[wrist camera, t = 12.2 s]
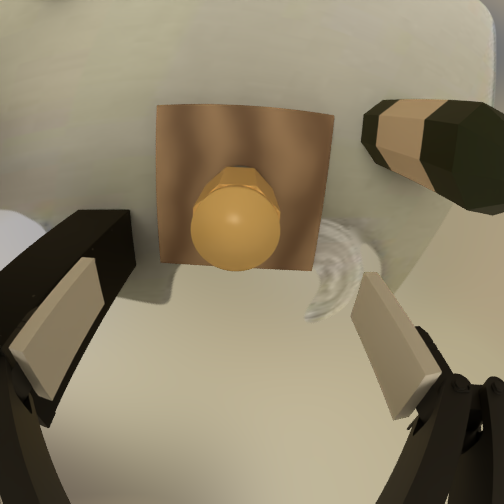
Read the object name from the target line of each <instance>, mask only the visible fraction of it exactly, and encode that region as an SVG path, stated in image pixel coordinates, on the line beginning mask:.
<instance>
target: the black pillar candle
mask: <svg viewBox="0 0 504 504" xmlns="http://www.w3.org/2000/svg"><path fill="white" fill-rule="evenodd" d="M82 257H86V258H95V264H96V269H97V273H98V278H99V283H100V287H101V291H102V295H103V299H104V303H105V304H104V305H103V307H102V309H101V310H100V312H99V314H98V315H97V317H96V319H95V321H94V322H93V324H92V326H91V327H90V329H89V331H88V333H87V334H86V336H85V338H84V340H83V342H82V343H81V345H80V347H79V349H78V351H77V353H76V355H75V356H74V358H73V360H72V362H71V364H70V366H69V368H68V370H67V372H66V374H65V376H64V378H63V380H62V382H61V384H60V386H59V388H58V390H57V392H56V394H55V396H54V398H53V401H51V400H48V399H46V398H43V397H40V396H38V394H37V393H36V392H35V390H34V389H33V387H32V389H31V390H30V392H29V393H30V394H31V396H32V398H33V402H34V406H35V410H36V414H37V417H38V421H39V424H40V425H42V426H44V427H47V428H49V427H50V424H51V423H52V420H53V418H54V416H55V411H56V409H57V406H58V404H59V402H60V400H61V398H62V396H63V393H64V391H65V389H66V387H67V385H68V383H69V381H70V379H71V377H72V375H73V373H74V371H75V369H76V367H77V365H78V363H79V362H80V360H81V358H82V356H83V354H84V352H85V350H86V348H87V347H88V345H89V343H90V341H91V339H92V338H93V336H94V334H95V332H96V330H97V329H98V327H99V325H100V323H101V322H102V320H103V318H104V316H105V315H106V313H107V311H108V310H109V308H110V306H111V304H112V303H113V301H114V300H115V298H116V296H117V295H118V293H119V292H120V290H121V288H122V287H123V285H124V283H125V282H126V280H127V279H128V277H129V276H130V274H131V272H132V271H133V269H134V268H135V266H136V262H135V254H134V247H133V239H132V230H131V220H130V211H129V210H78V211H76V212H75V213H73V214H72V215H70V216H69V217H68V218H66V219H65V220H63V221H62V222H61V223H59V224H58V225H57V226H55V227H54V228H53V229H51V230H50V231H49V232H47V233H46V234H45V235H43V236H42V237H41V238H39V239H38V240H37V241H36V242H34V243H33V244H32V245H31V246H29V247H28V248H27V249H26V250H25V251H23V252H22V253H21V254H20V255H18V256H17V257H16V258H15V259H14V260H13V261H12V262H10V263H9V264H8V265H7V266H6V267H5V268H3V270H1V271H0V346H1V348H2V346H3V345H4V344H5V342H6V341H7V339H8V338H9V337H10V335H11V334H12V333H13V331H14V330H15V329H16V328H17V326H18V325H19V323H20V322H22V319H23V318H24V317H25V316H26V314H27V313H28V312H30V311H31V310H32V309H34V308H35V307H39V306H40V305H41V304H42V303H43V301H44V300H45V299H46V298H47V296H48V295H49V294H50V293H51V292H52V290H53V289H54V288H55V287H56V286H57V285H58V283H59V282H60V281H61V280H62V279H63V278H64V277H65V275H66V274H67V273H68V272H69V271H70V270H71V269H72V268H73V266H74V265H75V264H76V263H77V262H78V261H79V260H80V259H81V258H82Z"/></svg>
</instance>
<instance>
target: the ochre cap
mask: <svg viewBox="0 0 504 504" xmlns="http://www.w3.org/2000/svg"><path fill="white" fill-rule="evenodd" d="M280 213H281V212H280V209H279V206H278V203H277V200H276V197H275V194H274V191H273V188H272V187H271V186H270V185H269V184H268V183H267V182H266V181H265V179H264V178H263V177H262V176H261V175H260V174H259V173H258V172H257V170H256V169H255V168H244V167H225V168H224V169H223V170H222V171H221V172H220V173H219V174H217V175H216V176H215V177H214V178H213V179H212V180H211V181H210V182H209V183H207V184H206V186H205V187H204V189H203V191H202V193H201V194H200V196H199V198H198V200H197V201H196V203H195V205H194V207H193V218H192V222H191V237H192V241H193V244H194V246H195V248H196V250H197V251H198V253H199V254H200V255H201V256H202V257H203V259H205V260H206V261H207V262H208V263H210V264H211V265H213V266H215V267H217V268H220V269H223V270H228V271H244V270H249V269H252V268H255V267H257V266H259V265H260V264H262V263H263V262H265V261H266V260H267V259H268V258H269V257H270V256H271V255H272V254H273V252H274V251H275V249H276V247H277V245H278V242H279V238H280V223H279V221H280Z"/></svg>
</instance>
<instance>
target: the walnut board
mask: <svg viewBox="0 0 504 504" xmlns="http://www.w3.org/2000/svg"><path fill="white" fill-rule="evenodd" d="M333 124H334V115H328V114H321V113H315V112H307V111H300V110H291V109H282V108H272V107H259V106H244V105H219V104H180V105H157V117H156V193H157V217H158V234H159V248H160V260H161V263H174V264H190V265H206V266H213V265H211V264H210V263H208V262H207V261H206V260H205V259H203V257H202V256H201V255H200V254H199V253H198V251H197V250H196V248H195V246H194V244H193V241H192V237H191V222H192V218H193V207H194V205H195V203H196V201H197V200H198V198H199V196H200V194H201V193H202V191H203V189H204V187H205V186H206V184H207V183H209V182H210V181H211V180H212V179H213V178H214V177H215V176H216V175H217V174H219V173H220V172H221V171H222V170H223V169H224V168H225V167H232V166H236V165H244V166H248V167H251V168H255V169H256V170H257V171H258V172H259V173H260V174H261V176H262V177H263V178H264V179H265V181H266V182H267V183H268V184H269V185H270V186H271V187H272V188H273V191H274V194H275V197H276V200H277V203H278V206H279V209H280V212H281V213H280V221H279V223H280V238H279V242H278V245H277V247H276V249H275V251H274V252H273V254H272V255H271V256H270V257H269V258H268V259H267V260H266V261H265V262H263V263H262V264H260V265H259V266H257V267H255V268H260V269H261V268H262V269H280V270H301V271H312V267H313V261H314V256H315V251H316V245H317V239H318V233H319V227H320V221H321V215H322V209H323V202H324V195H325V189H326V182H327V174H328V167H329V159H330V151H331V142H332V134H333Z"/></svg>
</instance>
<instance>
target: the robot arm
mask: <svg viewBox="0 0 504 504" xmlns="http://www.w3.org/2000/svg"><path fill="white" fill-rule="evenodd" d="M104 304H105V303H104V299H103V295H102V291H101V287H100V283H99V278H98V273H97V269H96V264H95V258H86V257H82V258H81V259H80V260H79V261H78V262H77V263H76V264H75V265H74V266H73V268H72V269H71V270H70V271H69V272H68V273H67V274H66V275H65V277H64V278H63V279H62V280H61V281H60V282H59V283H58V285H57V286H56V287H55V288H54V289H53V290H52V292H51V293H50V294H49V295H48V296H47V298H46V299H45V300H44V301H43V303H42V304H41V305H40V306H39V307H35V308H34V309H32V310H31V311H30V312H28V313H27V314H26V316H25V317H24V318H23V319H22V322H20V323H19V325H18V326H17V328H16V329H15V330H14V331H13V333H12V334H11V335H10V337H9V338H8V339H7V341H6V342H5V344H4V345H3V346H2V348H1V346H0V496H1V499H2V502H3V504H71V503H70V501H69V499H68V497H67V495H66V493H65V491H64V489H63V487H62V484H61V482H60V480H59V478H58V475H57V473H56V470H55V468H54V465H53V463H52V460H51V457H50V455H49V452H48V449H47V446H46V443H45V441H44V438H43V434H42V431H41V428H40V424H39V421H38V417H37V414H36V410H35V406H34V402H33V398H32V396H31V394H30V393H29V392H30V390H31V389H32V387H33V389H34V390H35V392H36V393H37V394H38V396H40V397H43V398H46V399H48V400H51V401H53V398H54V396H55V394H56V392H57V390H58V388H59V386H60V384H61V382H62V380H63V378H64V376H65V374H66V372H67V370H68V368H69V366H70V364H71V362H72V360H73V358H74V356H75V355H76V353H77V351H78V349H79V347H80V345H81V343H82V342H83V340H84V338H85V336H86V334H87V333H88V331H89V329H90V327H91V326H92V324H93V322H94V321H95V319H96V317H97V315H98V314H99V312H100V310H101V309H102V307H103V305H104ZM351 318H352V321H353V323H354V325H355V328H356V330H357V332H358V335H359V337H360V339H361V341H362V344H363V346H364V348H365V351H366V353H367V355H368V358H369V360H370V362H371V365H372V367H373V370H374V372H375V375H376V377H377V380H378V382H379V384H380V387H381V390H382V392H383V395H384V397H385V400H386V403H387V405H388V408H389V410H390V413H391V416H392V418H393V420H397V419H401V418H406V417H409V416H410V414H411V413H412V412H413V411H414V410H415V408H416V410H417V412H418V414H419V415H418V416H417V417H416V418H415V419H414V421H413V422H412V423H411V424H410V425H409V427H408V428H407V430H409V429H410V428H411V427H412V429H411V432H410V434H409V436H408V439H407V441H406V443H405V446H404V448H403V451H402V453H401V455H400V457H399V459H398V461H397V464H396V466H395V468H394V470H393V472H392V474H391V476H390V478H389V480H388V482H387V484H386V486H385V487H384V489H383V491H382V493H381V495H380V496H379V498H378V500H377V502H376V504H445V501H446V499H447V496H448V493H449V497H448V504H504V382H503V381H502V380H501V379H500V378H498V377H489V378H488V379H487V380H486V382H485V383H484V384H483V385H474V384H471V383H470V382H469V381H468V379H467V378H466V377H464V376H462V375H460V374H453V373H452V371H451V369H450V368H449V366H448V364H447V363H446V361H445V359H444V358H443V356H442V354H441V353H440V351H439V350H437V349H438V348H437V347H436V345H435V344H434V343H433V340H432V339H431V337H430V336H429V334H428V333H427V332H426V331H425V330H423V329H422V328H421V327H420V326H415V327H414V325H413V324H412V322H411V321H410V319H409V317H408V316H407V314H406V313H405V311H404V310H403V308H402V307H401V305H400V304H399V302H398V301H397V299H396V298H395V297H394V295H393V294H392V292H391V291H390V289H389V288H388V286H387V285H386V284H385V282H384V281H383V279H382V278H381V277H380V275H379V274H378V273H377V272H364V274H363V277H362V281H361V284H360V288H359V291H358V295H357V298H356V301H355V304H354V307H353V310H352V313H351ZM482 424H483V431H481V425H482Z"/></svg>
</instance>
